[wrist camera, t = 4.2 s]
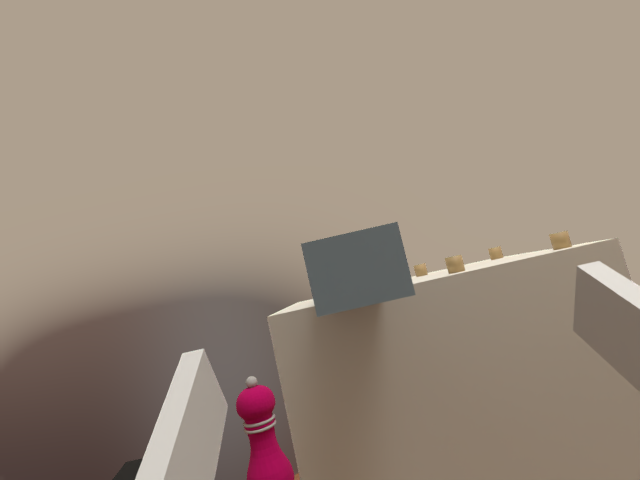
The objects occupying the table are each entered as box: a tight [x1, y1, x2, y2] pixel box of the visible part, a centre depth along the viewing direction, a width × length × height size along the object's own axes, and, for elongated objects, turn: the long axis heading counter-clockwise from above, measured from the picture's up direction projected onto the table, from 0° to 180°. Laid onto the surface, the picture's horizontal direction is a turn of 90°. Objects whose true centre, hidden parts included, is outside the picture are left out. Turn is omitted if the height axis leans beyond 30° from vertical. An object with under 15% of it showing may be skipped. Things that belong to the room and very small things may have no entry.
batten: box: [301, 222, 416, 317], centre depth 30 cm, size 28×4×3 cm, turn 177°
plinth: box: [267, 231, 640, 480], centre depth 36 cm, size 22×24×31 cm
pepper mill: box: [236, 376, 294, 480], centre depth 61 cm, size 7×7×20 cm
